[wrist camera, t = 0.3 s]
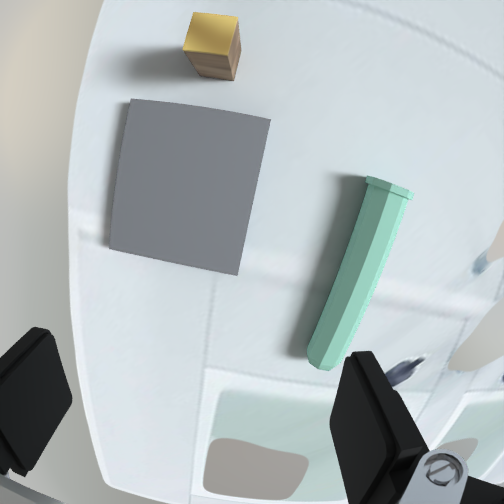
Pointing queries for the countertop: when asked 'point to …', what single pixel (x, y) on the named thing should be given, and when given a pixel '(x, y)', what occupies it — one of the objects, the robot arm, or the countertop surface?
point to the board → (186, 183)
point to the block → (213, 45)
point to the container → (358, 272)
